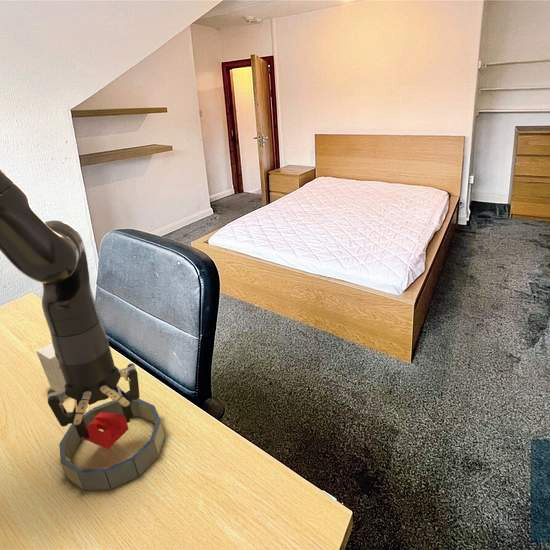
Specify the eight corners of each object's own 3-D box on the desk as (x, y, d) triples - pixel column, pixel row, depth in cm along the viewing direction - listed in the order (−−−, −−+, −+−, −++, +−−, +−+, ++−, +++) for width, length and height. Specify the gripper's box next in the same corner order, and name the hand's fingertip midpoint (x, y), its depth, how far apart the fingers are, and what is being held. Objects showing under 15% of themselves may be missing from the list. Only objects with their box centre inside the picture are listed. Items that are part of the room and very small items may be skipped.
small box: (83, 369, 95) (71, 331, 91) (97, 377, 92) (85, 338, 88) (50, 389, 90) (35, 350, 85) (64, 399, 87) (49, 358, 82)
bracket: (128, 429, 72) (125, 416, 71) (108, 449, 68) (104, 436, 67) (101, 418, 75) (98, 405, 73) (80, 437, 71) (76, 424, 69)
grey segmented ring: (70, 508, 64) (63, 491, 62) (63, 437, 77) (57, 421, 75) (174, 460, 71) (170, 443, 69) (151, 402, 84) (147, 387, 82)
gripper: (125, 323, 70) (144, 399, 77) (31, 351, 64) (60, 430, 71) (134, 345, 64) (153, 424, 71) (31, 377, 58) (63, 461, 65)
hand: (107, 427), depth 71 cm, fingers closed on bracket, 6 cm apart
